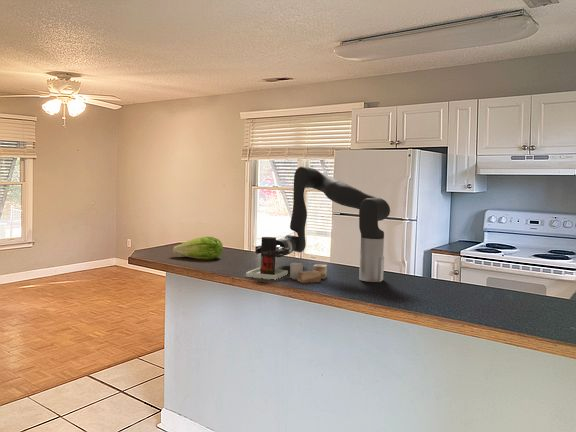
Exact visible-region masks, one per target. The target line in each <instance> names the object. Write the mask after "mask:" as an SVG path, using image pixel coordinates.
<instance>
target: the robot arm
mask: <svg viewBox="0 0 576 432" xmlns="http://www.w3.org/2000/svg"><path fill="white" fill-rule="evenodd" d="M305 188H308V189H312V190H313V189H315V190H316V191H320V192H322V193H324V195H325V196H326V198H327V199H329V200H330V201H332V202H334V203H336V204H338V205H341V206H344V207H348V208H352V209H355V210H356V209H357V210H358V222H359V223H358V225H359V226H358V227H359V232H360V247H359V248H360V250H359V251H360V252H359V271H358V273H359V274H358V280H359V281H362V282H367V283H382V281H383V280H384V269H385V265H384V264H385V257H384V248H385V246H384V245H385V242H384V241H385V232H384V230H382V229H381V228H379V221H383V220H386V219H387V218H388V217H389V216H390V213H391V208H390V205H389V203H388V202H387V201H386V200H385V199H383V198H380V197H377V196H374V195H371V194H368V193H365V192H364V191H362V190H359V189H358V188H356V187H353V186H351V185H349V184H348V183H345V182H344V181H341V180H338V179H336V178H333V177H329V176H327V175H326V174H324V173H322V172H320V171H319V170H318V169H316V168H313V167H307V166H299V167H297V169H296V170H295V172H294V177H293V198H292V199H293V201H292V212H291V213H292V214H291V218H290V223H289V229H290V230H291V231H292V232H295V233H296V234H297V235H292V234H288V235H287V234H286V235H285V236H284V238H279V239H276V250H275V258H281V257H284V256H288V255H290V254H291V253H293V252H297V253H303V252H304V251H305V249H306V246H307V245H306V244H307V243H306V233H305V232H306V223H307V218H308V211H307V207H306V202H305V190H306V189H305ZM254 252H255V254H256V255H258V254H261V244H260V245H255V250H254Z"/></svg>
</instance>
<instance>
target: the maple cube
mask: <svg viewBox="0 0 576 432" xmlns="http://www.w3.org/2000/svg"><path fill="white" fill-rule="evenodd" d="M312 266H313V267H312V271H313V270H316V271H319V272H321V279H323V280H326V279H327V271H328V265H327V264H319V263H318V264H316V263H315V264H314V265H312Z"/></svg>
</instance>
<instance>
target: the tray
mask: <svg viewBox="0 0 576 432" xmlns="http://www.w3.org/2000/svg"><path fill="white" fill-rule="evenodd" d="M260 268H261V267H257V268H254V269H252V270H249V271H246V273H245V277H246V278H252V277H253V278H254V279H261V278H263V280H270V279H274V280H273V281H277V280H279V279H282V278H283V276H284V277H286V276H288V275H289V270H288V269H276V268H275V275H269V274H260ZM287 274H288V275H287ZM285 275H286V276H285ZM281 277H282V278H281ZM278 278H279V279H278ZM276 279H277V280H276Z"/></svg>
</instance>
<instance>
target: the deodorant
mask: <svg viewBox="0 0 576 432" xmlns="http://www.w3.org/2000/svg"><path fill="white" fill-rule="evenodd" d="M276 240H277V237H275V236H274V237H273V236H262V237H261V244H260V245H261V253H260V267H259V268H260V274H269V275H275V269H276V257H275V250H276Z"/></svg>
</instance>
